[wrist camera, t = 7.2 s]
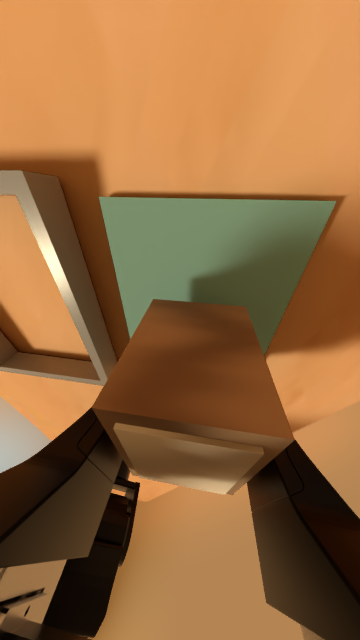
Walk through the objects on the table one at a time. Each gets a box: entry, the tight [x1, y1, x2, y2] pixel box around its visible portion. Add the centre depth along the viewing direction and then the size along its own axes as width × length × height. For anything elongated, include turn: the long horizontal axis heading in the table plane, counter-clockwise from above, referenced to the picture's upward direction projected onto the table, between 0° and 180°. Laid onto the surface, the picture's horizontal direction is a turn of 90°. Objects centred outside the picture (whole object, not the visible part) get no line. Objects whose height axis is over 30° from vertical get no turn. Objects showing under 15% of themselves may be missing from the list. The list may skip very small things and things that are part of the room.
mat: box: [99, 197, 337, 355], centre depth 13 cm, size 16×11×1 cm
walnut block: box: [92, 299, 295, 495], centre depth 8 cm, size 5×7×6 cm
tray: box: [0, 170, 117, 386], centre depth 13 cm, size 16×13×2 cm
